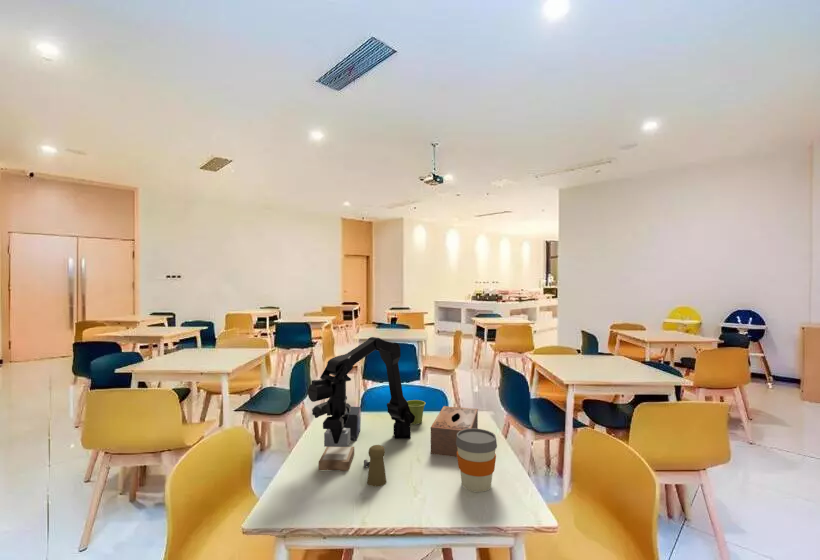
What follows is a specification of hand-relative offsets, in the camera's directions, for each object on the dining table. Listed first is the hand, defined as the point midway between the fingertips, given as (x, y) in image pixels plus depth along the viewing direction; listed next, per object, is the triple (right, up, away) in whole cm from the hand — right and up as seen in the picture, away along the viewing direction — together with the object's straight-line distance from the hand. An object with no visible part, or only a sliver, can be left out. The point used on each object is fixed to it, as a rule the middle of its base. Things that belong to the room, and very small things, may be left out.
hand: (337, 440), depth 135 cm
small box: (+1, -8, +24) cm, 25 cm away
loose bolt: (+13, -8, -2) cm, 15 cm away
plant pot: (+27, -8, +39) cm, 49 cm away
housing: (0, -1, 0) cm, 1 cm away
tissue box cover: (+43, -8, +17) cm, 47 cm away
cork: (+15, -8, -13) cm, 21 cm away
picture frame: (0, -8, 0) cm, 8 cm away
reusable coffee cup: (+46, -8, -15) cm, 49 cm away
